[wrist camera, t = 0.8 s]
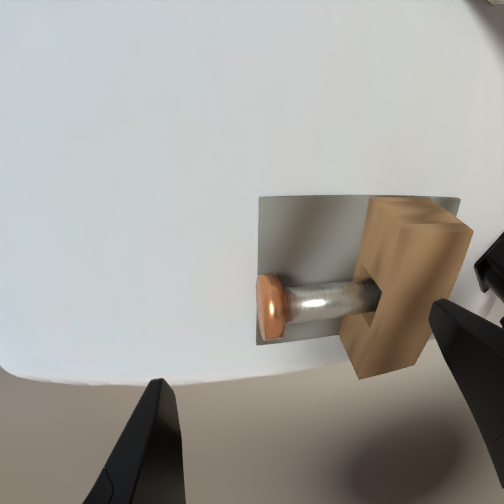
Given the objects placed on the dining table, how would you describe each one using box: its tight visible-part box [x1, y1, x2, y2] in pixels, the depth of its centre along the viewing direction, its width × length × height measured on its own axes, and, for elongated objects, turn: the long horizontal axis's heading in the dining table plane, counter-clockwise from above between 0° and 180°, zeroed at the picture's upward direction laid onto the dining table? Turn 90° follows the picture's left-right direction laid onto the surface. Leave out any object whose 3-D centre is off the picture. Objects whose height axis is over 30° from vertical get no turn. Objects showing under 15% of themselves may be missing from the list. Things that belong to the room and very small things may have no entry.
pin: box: [256, 274, 382, 341], centre depth 22 cm, size 10×5×5 cm, turn 90°
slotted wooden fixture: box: [256, 195, 474, 380], centre depth 22 cm, size 18×14×6 cm
